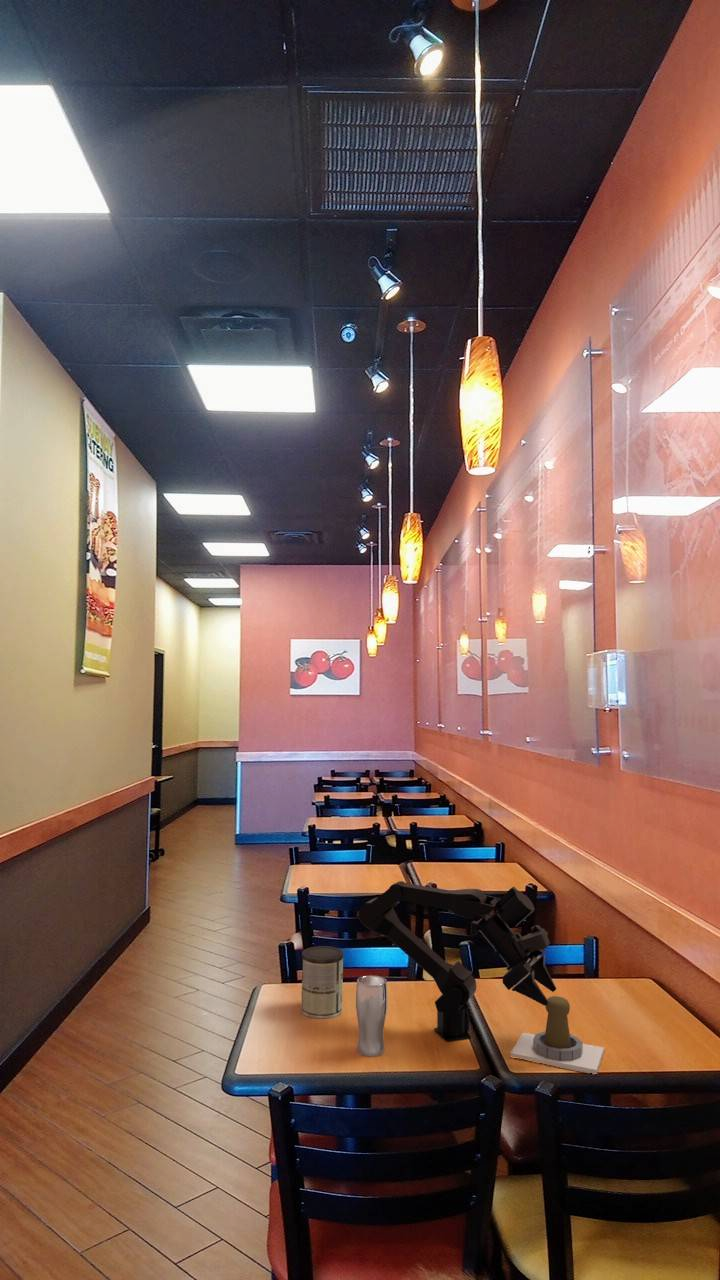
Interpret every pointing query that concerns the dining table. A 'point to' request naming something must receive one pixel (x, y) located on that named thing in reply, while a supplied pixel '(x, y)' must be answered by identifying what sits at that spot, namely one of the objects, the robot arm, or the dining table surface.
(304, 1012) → the coffee can
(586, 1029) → the dining table surface
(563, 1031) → the olive brown pawn
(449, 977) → the robot arm
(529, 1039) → the dock
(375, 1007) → the beer glass
